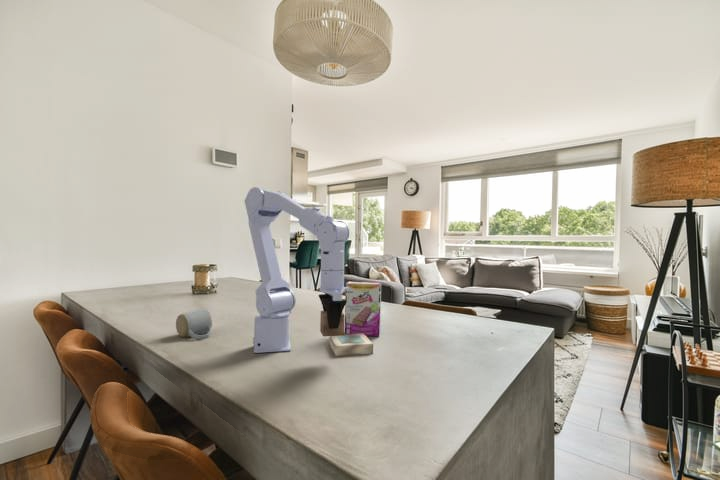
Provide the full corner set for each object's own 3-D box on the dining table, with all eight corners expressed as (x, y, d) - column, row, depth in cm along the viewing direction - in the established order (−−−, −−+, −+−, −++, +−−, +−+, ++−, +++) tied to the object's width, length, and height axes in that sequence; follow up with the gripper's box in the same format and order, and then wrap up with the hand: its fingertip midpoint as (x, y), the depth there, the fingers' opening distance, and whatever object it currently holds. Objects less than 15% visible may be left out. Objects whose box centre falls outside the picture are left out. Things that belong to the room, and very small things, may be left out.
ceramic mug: (173, 335, 103) (174, 310, 103) (200, 330, 110) (200, 306, 109) (191, 343, 97) (192, 316, 97) (218, 336, 103) (218, 311, 103)
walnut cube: (323, 336, 80) (323, 315, 80) (320, 331, 84) (320, 311, 85) (343, 335, 81) (344, 314, 81) (339, 330, 86) (340, 310, 86)
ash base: (335, 355, 87) (336, 345, 87) (329, 344, 97) (329, 335, 97) (373, 353, 89) (373, 343, 89) (363, 342, 99) (363, 333, 99)
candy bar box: (344, 335, 105) (345, 283, 105) (346, 331, 110) (347, 281, 110) (380, 337, 104) (380, 284, 104) (380, 332, 109) (381, 282, 109)
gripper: (355, 272, 77) (354, 332, 77) (342, 267, 91) (341, 317, 91) (324, 272, 75) (323, 334, 75) (316, 267, 89) (315, 319, 89)
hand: (331, 325), depth 83 cm, fingers closed on walnut cube, 5 cm apart
